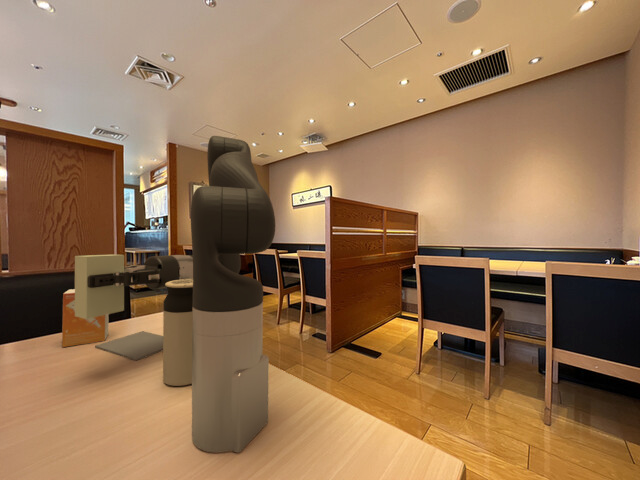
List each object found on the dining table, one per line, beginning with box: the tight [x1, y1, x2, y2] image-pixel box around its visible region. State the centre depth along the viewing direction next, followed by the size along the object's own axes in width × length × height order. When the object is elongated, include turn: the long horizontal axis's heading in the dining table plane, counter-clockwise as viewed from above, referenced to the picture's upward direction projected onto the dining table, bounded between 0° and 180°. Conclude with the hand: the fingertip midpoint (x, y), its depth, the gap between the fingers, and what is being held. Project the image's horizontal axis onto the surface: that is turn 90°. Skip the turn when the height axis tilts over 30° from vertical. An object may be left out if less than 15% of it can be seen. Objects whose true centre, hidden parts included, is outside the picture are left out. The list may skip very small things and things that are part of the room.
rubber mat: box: [94, 330, 163, 362], centre depth 64 cm, size 16×11×1 cm
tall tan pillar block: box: [74, 254, 125, 319], centre depth 49 cm, size 4×6×11 cm, turn 156°
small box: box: [61, 288, 110, 348], centre depth 66 cm, size 8×6×13 cm
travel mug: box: [162, 279, 193, 387], centre depth 49 cm, size 8×8×18 cm
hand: (82, 281), depth 47 cm, fingers closed on tall tan pillar block, 4 cm apart
